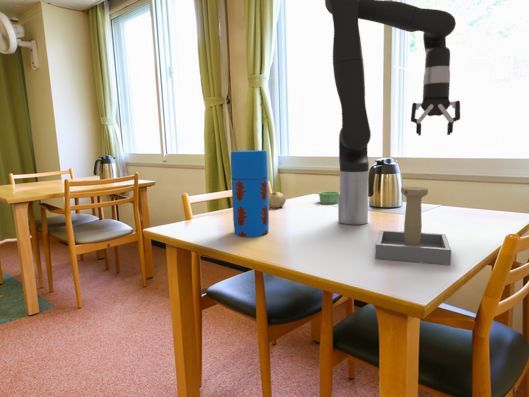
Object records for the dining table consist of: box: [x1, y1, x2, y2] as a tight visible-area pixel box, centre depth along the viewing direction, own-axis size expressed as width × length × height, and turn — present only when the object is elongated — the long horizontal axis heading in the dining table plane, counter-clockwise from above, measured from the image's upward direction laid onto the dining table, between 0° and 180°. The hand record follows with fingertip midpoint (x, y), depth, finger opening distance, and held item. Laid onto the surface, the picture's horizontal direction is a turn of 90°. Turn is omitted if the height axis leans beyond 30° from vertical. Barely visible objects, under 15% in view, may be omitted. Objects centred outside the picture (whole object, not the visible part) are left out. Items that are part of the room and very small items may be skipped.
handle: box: [400, 186, 429, 246], centre depth 92 cm, size 5×6×15 cm
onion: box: [268, 191, 287, 209], centre depth 156 cm, size 8×8×7 cm
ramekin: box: [318, 190, 340, 205], centre depth 164 cm, size 9×9×4 cm
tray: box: [375, 229, 452, 266], centre depth 93 cm, size 16×14×4 cm
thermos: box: [230, 149, 270, 238], centre depth 114 cm, size 11×11×25 cm
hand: (433, 135), depth 121 cm, fingers open, 8 cm apart
